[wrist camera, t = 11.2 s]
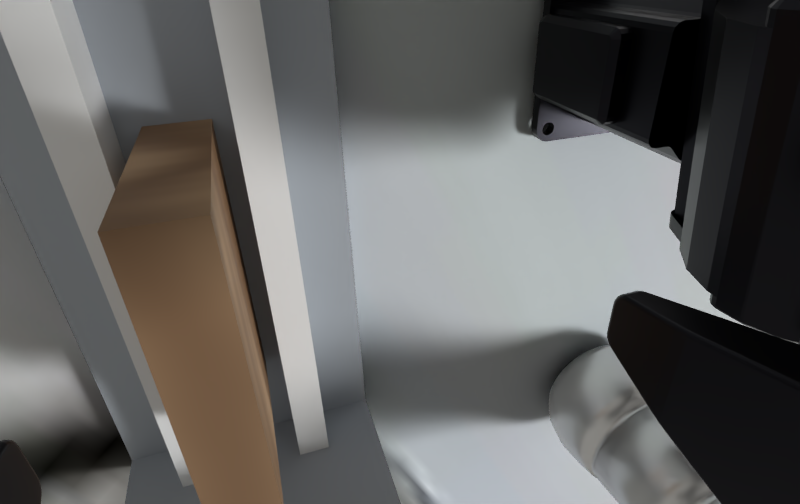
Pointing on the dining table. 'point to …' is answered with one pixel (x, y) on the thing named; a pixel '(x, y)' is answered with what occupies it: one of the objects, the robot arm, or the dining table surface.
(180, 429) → the door panel
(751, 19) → the robot arm
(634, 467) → the plastic bottle
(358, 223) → the dining table surface
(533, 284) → the dining table surface
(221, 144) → the track board
